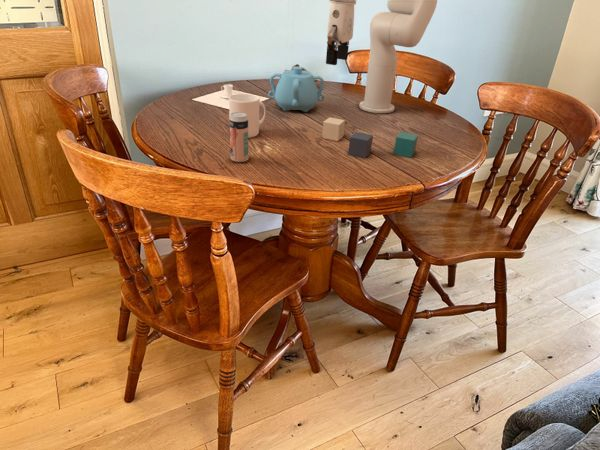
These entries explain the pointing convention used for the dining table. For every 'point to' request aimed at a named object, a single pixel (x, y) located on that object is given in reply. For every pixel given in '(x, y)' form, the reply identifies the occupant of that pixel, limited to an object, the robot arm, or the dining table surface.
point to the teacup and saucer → (222, 97)
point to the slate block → (360, 144)
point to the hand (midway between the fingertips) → (336, 61)
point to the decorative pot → (296, 90)
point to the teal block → (405, 144)
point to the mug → (248, 110)
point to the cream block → (333, 129)
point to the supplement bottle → (238, 137)
